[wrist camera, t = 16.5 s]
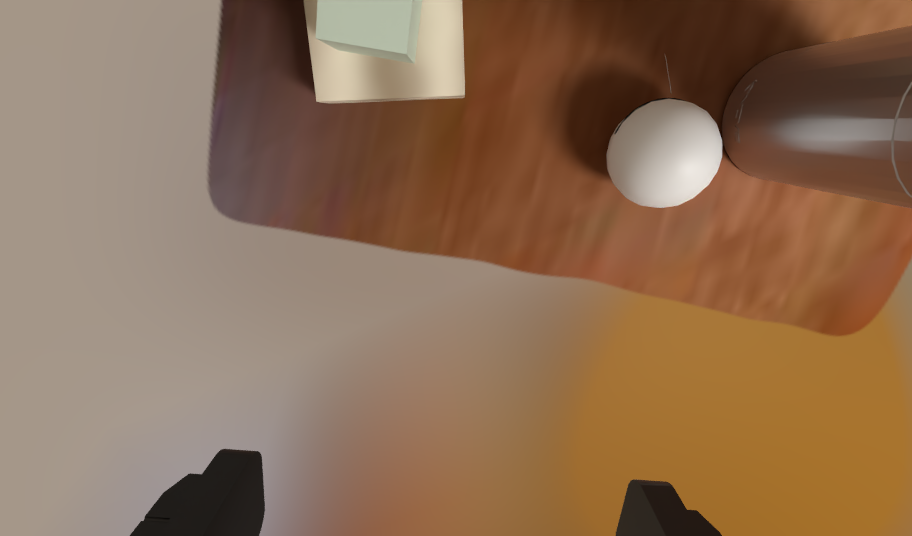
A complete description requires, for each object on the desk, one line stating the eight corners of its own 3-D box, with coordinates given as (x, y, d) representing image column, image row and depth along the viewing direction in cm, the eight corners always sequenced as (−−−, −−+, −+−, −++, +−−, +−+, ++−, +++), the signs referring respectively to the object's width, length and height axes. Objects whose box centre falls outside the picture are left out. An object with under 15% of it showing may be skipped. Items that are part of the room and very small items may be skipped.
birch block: (459, -58, 31) (459, -83, 27) (464, 97, 34) (464, 95, 30) (313, -51, 31) (294, -75, 27) (332, 103, 34) (316, 101, 30)
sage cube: (425, -24, 28) (418, -51, 23) (414, 63, 30) (406, 54, 25) (344, -38, 28) (321, -70, 23) (338, 50, 29) (315, 38, 25)
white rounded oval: (679, 201, 36) (732, 221, 29) (586, 195, 36) (618, 213, 29) (709, 65, 33) (776, 50, 26) (608, 58, 33) (649, 41, 26)
